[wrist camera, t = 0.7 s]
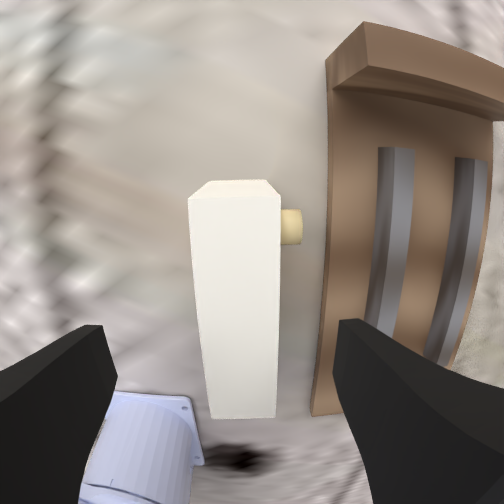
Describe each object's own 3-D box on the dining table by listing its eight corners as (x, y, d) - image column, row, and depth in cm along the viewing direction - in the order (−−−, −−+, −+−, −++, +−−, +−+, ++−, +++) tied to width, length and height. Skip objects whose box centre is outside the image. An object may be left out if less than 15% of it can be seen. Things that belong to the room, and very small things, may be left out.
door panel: (280, 337, 20) (296, 415, 13) (219, 339, 20) (211, 418, 13) (283, 179, 17) (311, 196, 10) (209, 180, 16) (187, 199, 10)
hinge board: (436, 384, 22) (467, 428, 16) (309, 408, 22) (324, 467, 16) (481, 95, 15) (541, 89, 9) (325, 60, 14) (363, 21, 9)
